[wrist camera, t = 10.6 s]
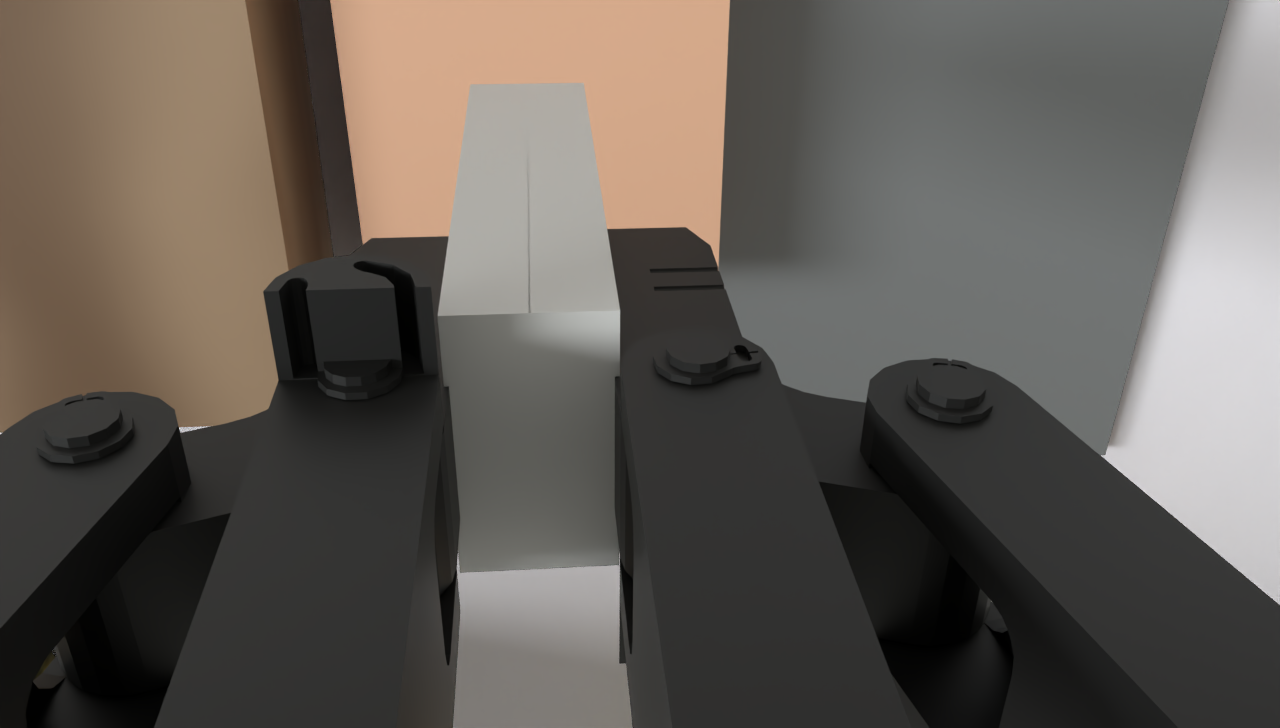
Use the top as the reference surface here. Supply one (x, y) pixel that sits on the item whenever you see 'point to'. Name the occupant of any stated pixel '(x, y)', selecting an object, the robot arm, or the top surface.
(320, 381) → the robot arm
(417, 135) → the block
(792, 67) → the mat
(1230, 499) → the top surface
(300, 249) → the tan panel
